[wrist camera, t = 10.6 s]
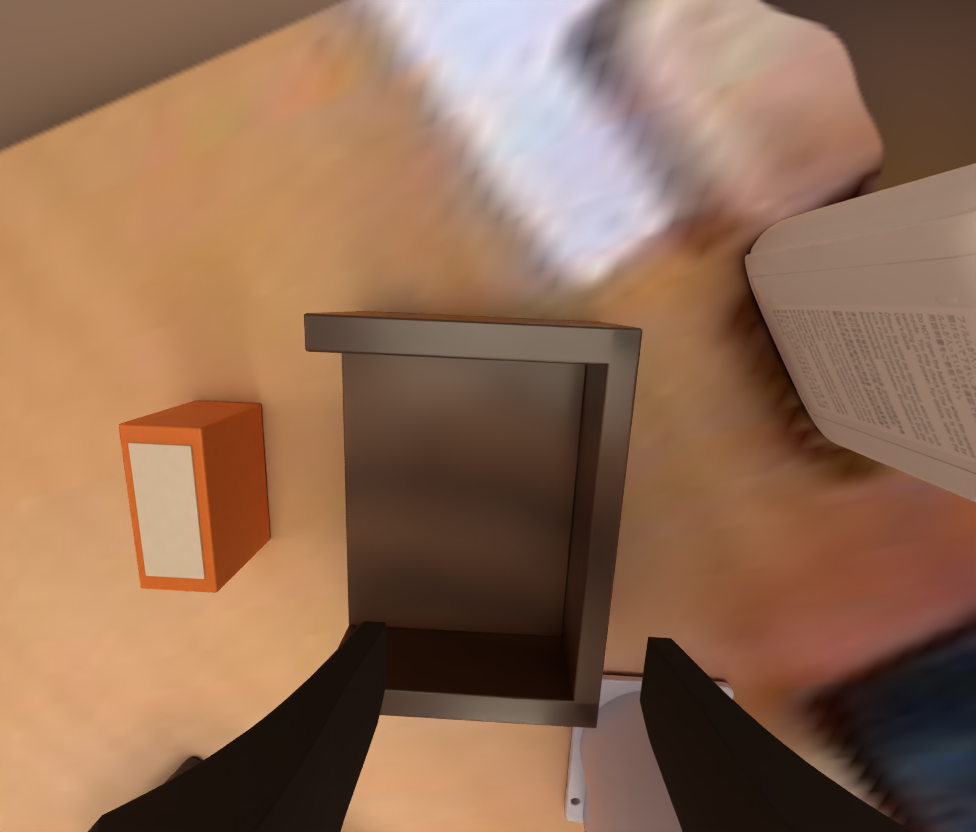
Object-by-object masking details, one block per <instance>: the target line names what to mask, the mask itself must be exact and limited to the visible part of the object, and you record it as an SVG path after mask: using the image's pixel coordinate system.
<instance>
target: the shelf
mask: <svg viewBox="0 0 976 832" xmlns="http://www.w3.org/2000/svg"><path fill="white" fill-rule="evenodd" d="M304 326H305V349H306V351H309V352H330V353H342V377H343V415H344V453H345V491H346V530H347V568H348V606H349V627H348V629H347V631H346V633H345V635H344V637H343V639H342V641H341V643H340V645H339V647H340V646H341V645H342V644H343V643H344V642H345V641H346V639H347V638H348V637H349V636H350V635H351V634H352V633H353V632H354V631H355V629H356V628H357V627H358V626H359V625H360V624H361V623H362V622H363V621H374V622H386V689H385V693H384V698H383V702H382V707H381V711H380V715H390V716H406V717H422V718H438V719H454V720H470V721H486V722H502V723H518V724H534V725H550V726H566V727H582V728H596V727H597V720H598V712H599V701H600V693H601V684H602V676H603V667H604V658H605V650H606V641H607V632H608V624H609V615H610V606H611V598H612V589H613V580H614V572H615V563H616V554H617V546H618V537H619V528H620V520H621V511H622V502H623V494H624V485H625V476H626V468H627V459H628V451H629V442H630V433H631V425H632V416H633V407H634V399H635V390H636V381H637V373H638V364H639V356H640V347H641V338H642V329H640V328H635V327H629V326H622V325H616V324H610V323H603V322H591V321H569V320H547V319H525V318H503V317H481V316H458V315H436V314H414V313H392V312H370V311H357V312H327V313H306V314H304ZM339 647H338V648H339Z"/></svg>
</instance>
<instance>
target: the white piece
mask: <svg viewBox="0 0 976 832" xmlns="http://www.w3.org/2000/svg"><path fill="white" fill-rule="evenodd" d="M745 266H746V271H747V275H748V279H749V282H750V285H751V288H752V291H753V293H754V296H755V298H756V301H757V303H758V305H759V308H760V310H761V313H762V315H763V317H764V320H765V322H766V324H767V326H768V329H769V331H770V333H771V336H772V338H773V340H774V342H775V344H776V346H777V349H778V351H779V353H780V355H781V358H782V360H783V362H784V364H785V366H786V368H787V370H788V373H789V375H790V377H791V379H792V381H793V383H794V386H795V387H796V390H797V392H798V394H799V396H800V398H801V400H802V402H803V404H804V406H805V408H806V410H807V411H808V413H809V415H810V417H811V419H812V420H813V422H814V423H815V425H816V426H817V428H818V429H819V430H820V432H821V433H822V434H823V435H824V436H825V437H826V438H827V439H828V440H830V441H831V442H833V443H835V444H837V445H840V446H842V447H845V448H847V449H849V450H852V451H854V452H857V453H859V454H861V455H864V456H866V457H869V458H871V459H873V460H876V461H878V462H881V463H883V464H885V465H888V466H890V467H893V468H895V469H897V470H900V471H902V472H904V473H907V474H909V475H911V476H914V477H916V478H919V479H921V480H923V481H926V482H928V483H931V484H933V485H935V486H938V487H940V488H942V489H945V490H947V491H949V492H952V493H954V494H956V495H959V496H961V497H964V498H966V499H968V500H971V501H973V502H975V503H976V163H975V164H971V165H968V166H965V167H961V168H958V169H954V170H951V171H947V172H944V173H941V174H937V175H934V176H930V177H927V178H923V179H920V180H916V181H913V182H909V183H906V184H903V185H899V186H896V187H893V188H889V189H885V190H881V191H878V192H874V193H871V194H867V195H864V196H860V197H857V198H854V199H850V200H847V201H843V202H840V203H836V204H833V205H829V206H826V207H823V208H819V209H816V210H812V211H809V212H806V213H802V214H799V215H796V216H792V217H789V218H786V219H783V220H781V221H779V222H777V223H775V224H774V225H772V226H771V227H769V228H768V229H767V230H766V231H765V232H764V233H763V234H762V235H761V236H760V237H759V238H758V240H757V241H756V242H755V244H754V245H753V247H752V249H751V252H750V254H748V255H746V257H745Z"/></svg>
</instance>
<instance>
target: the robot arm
mask: <svg viewBox="0 0 976 832" xmlns="http://www.w3.org/2000/svg"><path fill="white" fill-rule="evenodd" d="M385 689H386V622H374V621H363V622H362V623H361V624H360V625H359V626H358V627H357V628H356V629H355V631H354V632H353V633H352V634H351V635H350V636H349V637H348V638H347V639H346V641H345V642H344V643H343V644H342V645H341V646H340V647H339V648H338V649H337V650H336V651H335V652H334V654H333V655H332V656H331V657H330V658H329V659H328V660H327V661H326V662H325V663H324V664H323V665H322V666H321V667H320V668H319V669H318V670H317V671H316V672H315V673H314V674H313V675H312V676H311V677H310V678H309V679H308V680H307V681H306V682H304V683H303V684H302V685H301V686H300V687H299V688H298V689H297V690H296V691H295V692H294V693H293V694H291V695H290V696H289V697H288V698H287V699H286V700H285V701H284V702H282V703H281V704H280V705H279V706H278V707H277V708H275V709H274V710H273V711H272V712H271V713H269V714H268V715H267V716H266V717H264V718H263V719H262V720H261V721H259V722H258V723H257V724H256V725H254V726H253V727H252V728H250V729H249V730H248V731H246V732H245V733H243V734H242V735H240V736H239V737H238V738H236V739H235V740H233V741H232V742H230V743H229V744H227V745H226V746H224V747H223V748H222V749H220V750H219V751H217V752H216V753H214V754H213V755H211V756H210V757H208V758H207V759H205V760H203V761H202V762H200V763H198V764H197V765H195V766H194V767H192V768H190V769H189V770H187V771H185V772H183V773H182V774H180V775H178V776H177V777H175V778H173V779H171V780H170V781H168V782H166V783H164V784H163V785H161V786H159V787H157V788H155V789H153V790H151V791H149V792H148V793H146V794H144V795H142V796H140V797H138V798H136V799H134V800H132V801H130V802H128V803H126V804H124V805H122V806H120V807H118V808H116V809H114V810H112V811H110V812H108V813H106V814H104V815H102V816H101V817H100V818H99V819H98V821H97V822H96V823H95V824H94V825H93V826H92V828H91V829H90V830H89V831H88V832H340V831H341V828H342V825H343V822H344V818H345V815H346V812H347V809H348V807H349V804H350V801H351V798H352V795H353V792H354V790H355V787H356V784H357V781H358V778H359V775H360V773H361V770H362V767H363V764H364V761H365V758H366V755H367V753H368V750H369V747H370V744H371V741H372V738H373V735H374V732H375V729H376V726H377V723H378V719H379V715H380V711H381V707H382V702H383V698H384V693H385ZM733 697H734V692H733V690H732V689H731V687H730V685H729V684H727V683H725V682H714V681H713V680H712V679H711V678H710V677H709V676H708V675H707V674H706V673H705V672H704V671H703V670H702V669H701V668H700V667H699V666H698V665H697V664H696V663H695V662H694V661H693V660H692V659H691V658H690V657H689V656H688V655H687V654H686V653H685V652H684V651H683V650H682V649H681V648H680V647H679V646H678V645H677V644H676V643H675V642H674V641H673V640H672V639H671V638H655V637H648V643H647V650H646V657H645V664H644V671H643V677H632V676H615V675H603V676H602V684H601V693H600V701H599V712H598V720H597V727H596V728H582V727H573V728H572V737H571V747H570V757H569V767H568V777H567V787H566V796H565V806H564V811H565V817H566V819H567V820H569V821H571V822H581V823H584V829H585V832H912V831H911V830H909V829H907V828H906V827H904V826H902V825H901V824H899V823H897V822H896V821H894V820H892V819H891V818H889V817H888V816H886V815H884V814H883V813H881V812H879V811H878V810H876V809H875V808H873V807H871V806H870V805H868V804H867V803H865V802H864V801H862V800H861V799H859V798H857V797H856V796H854V795H853V794H852V793H850V792H849V791H847V790H846V789H844V788H843V787H841V786H840V785H838V784H837V783H836V782H834V781H833V780H831V779H830V778H828V777H827V776H825V775H824V774H823V773H821V772H820V771H818V770H817V769H816V768H814V767H813V766H812V765H810V764H809V763H808V762H806V761H805V760H804V759H802V758H801V757H800V756H798V755H797V754H796V753H795V752H793V751H792V750H791V749H789V748H788V747H787V746H786V745H784V744H783V743H782V742H781V741H779V740H778V739H777V738H776V737H774V736H773V735H772V734H771V733H770V732H768V731H767V730H766V729H765V728H764V727H763V726H761V725H760V724H759V723H758V722H757V721H756V720H755V719H754V718H752V717H751V716H750V715H749V714H748V713H747V712H746V711H744V710H743V709H742V708H741V707H740V706H739V705H738V704H737V703H736V702H735V701H734V700H733Z"/></svg>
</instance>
